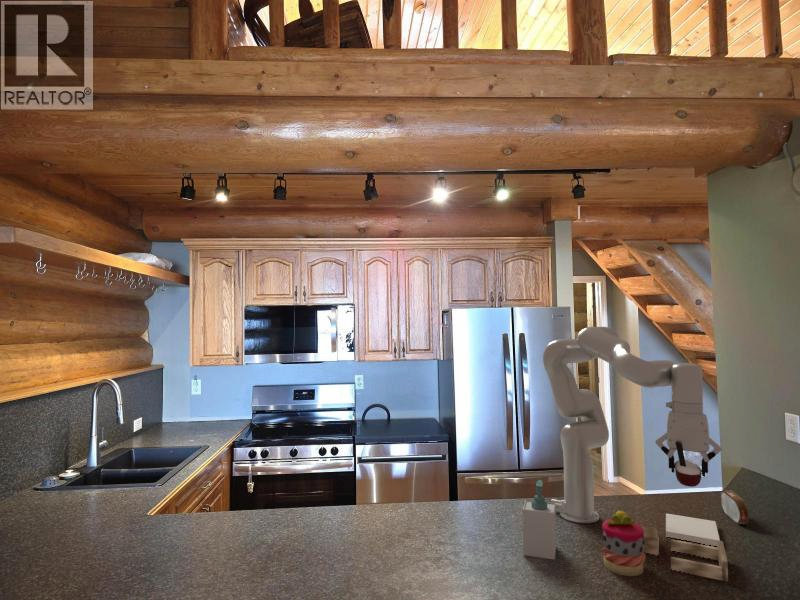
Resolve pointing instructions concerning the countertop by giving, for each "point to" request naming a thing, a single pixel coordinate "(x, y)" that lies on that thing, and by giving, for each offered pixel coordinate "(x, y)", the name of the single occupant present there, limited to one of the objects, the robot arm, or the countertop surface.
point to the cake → (623, 545)
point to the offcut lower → (651, 549)
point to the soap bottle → (539, 526)
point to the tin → (734, 507)
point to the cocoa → (686, 469)
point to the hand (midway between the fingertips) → (688, 472)
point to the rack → (698, 567)
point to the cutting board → (692, 529)
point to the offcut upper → (650, 537)
